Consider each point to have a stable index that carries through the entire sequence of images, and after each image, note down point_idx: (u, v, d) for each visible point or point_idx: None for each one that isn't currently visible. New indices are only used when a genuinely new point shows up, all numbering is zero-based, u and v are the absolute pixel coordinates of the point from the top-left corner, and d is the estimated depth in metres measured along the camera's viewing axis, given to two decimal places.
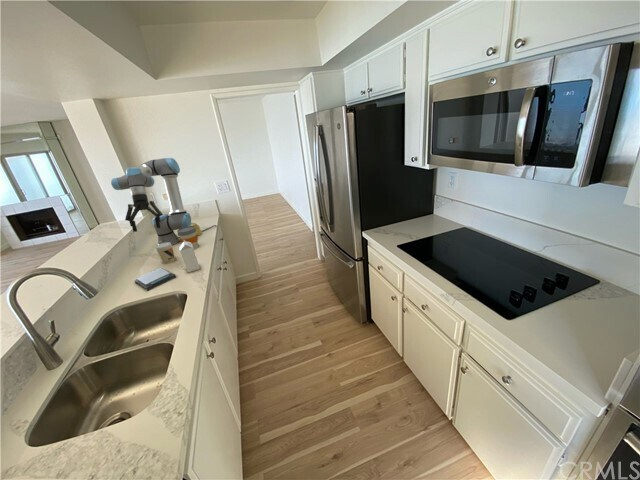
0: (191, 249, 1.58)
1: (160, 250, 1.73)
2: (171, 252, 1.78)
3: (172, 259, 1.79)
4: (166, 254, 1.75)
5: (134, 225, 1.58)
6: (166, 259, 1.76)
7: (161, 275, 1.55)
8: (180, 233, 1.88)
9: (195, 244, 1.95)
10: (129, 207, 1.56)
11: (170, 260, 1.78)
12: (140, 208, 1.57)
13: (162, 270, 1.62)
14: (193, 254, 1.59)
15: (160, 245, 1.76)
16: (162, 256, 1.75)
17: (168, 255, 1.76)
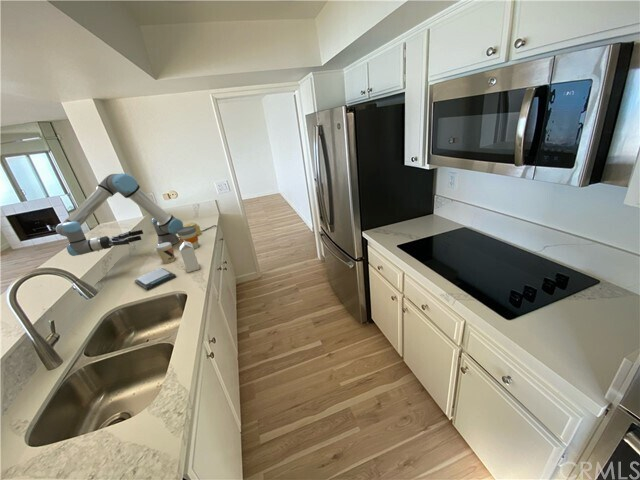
0: (191, 249, 1.58)
1: (160, 250, 1.73)
2: (171, 252, 1.78)
3: (172, 259, 1.79)
4: (166, 254, 1.75)
5: (136, 233, 1.72)
6: (166, 259, 1.76)
7: (161, 275, 1.55)
8: (180, 233, 1.88)
9: (195, 244, 1.95)
10: None
11: (170, 260, 1.78)
12: None
13: (162, 270, 1.62)
14: (193, 254, 1.59)
15: (160, 245, 1.76)
16: (162, 256, 1.75)
17: (168, 255, 1.76)
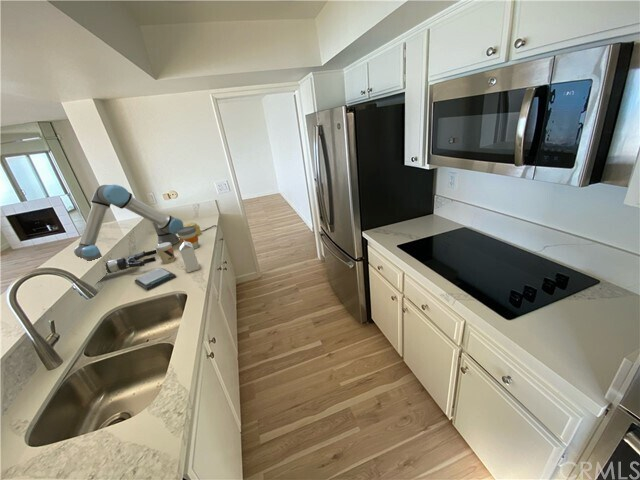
0: (191, 249, 1.58)
1: (160, 250, 1.73)
2: (171, 252, 1.78)
3: (172, 259, 1.79)
4: (166, 254, 1.75)
5: (150, 253, 1.80)
6: (166, 259, 1.76)
7: (161, 275, 1.55)
8: (180, 233, 1.88)
9: (195, 244, 1.95)
10: None
11: (170, 260, 1.78)
12: None
13: (162, 270, 1.62)
14: (193, 254, 1.59)
15: (160, 245, 1.76)
16: (162, 256, 1.75)
17: (168, 255, 1.76)
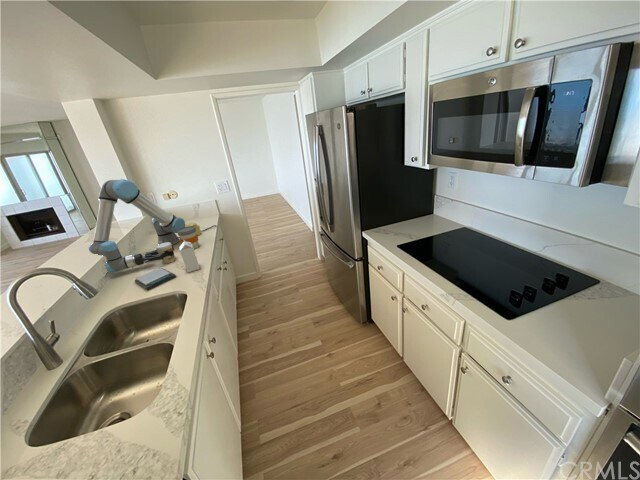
0: (191, 249, 1.58)
1: (160, 250, 1.73)
2: None
3: (172, 259, 1.79)
4: None
5: None
6: (166, 259, 1.76)
7: (161, 275, 1.55)
8: (180, 233, 1.88)
9: (195, 244, 1.95)
10: None
11: (170, 260, 1.78)
12: None
13: (162, 270, 1.62)
14: (193, 254, 1.59)
15: (160, 245, 1.76)
16: None
17: None
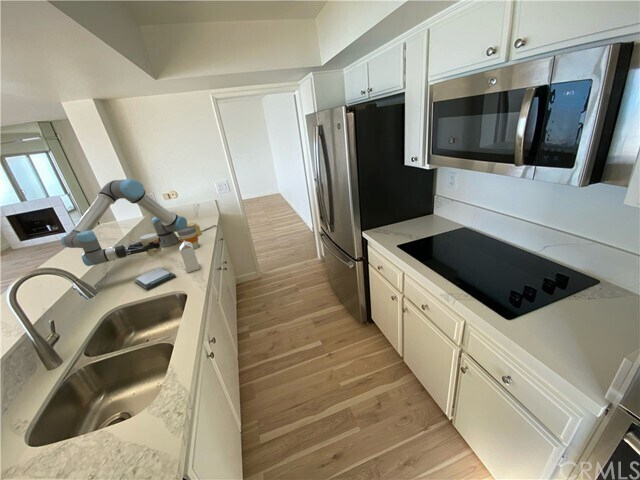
0: (191, 249, 1.58)
1: (144, 241, 1.56)
2: None
3: (158, 252, 1.62)
4: None
5: None
6: (151, 252, 1.59)
7: (161, 275, 1.55)
8: (180, 233, 1.88)
9: (195, 244, 1.95)
10: None
11: (156, 253, 1.61)
12: None
13: (162, 270, 1.62)
14: (193, 254, 1.59)
15: (145, 236, 1.59)
16: None
17: None
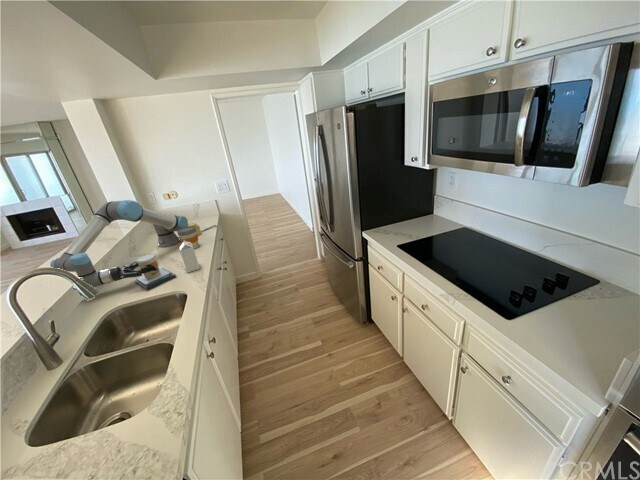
0: (191, 249, 1.58)
1: (142, 264, 1.49)
2: (155, 266, 1.53)
3: (156, 274, 1.55)
4: None
5: None
6: (149, 275, 1.52)
7: (161, 275, 1.55)
8: (180, 233, 1.88)
9: (195, 244, 1.95)
10: None
11: (154, 275, 1.54)
12: None
13: (162, 270, 1.62)
14: (193, 254, 1.59)
15: (142, 258, 1.52)
16: None
17: None
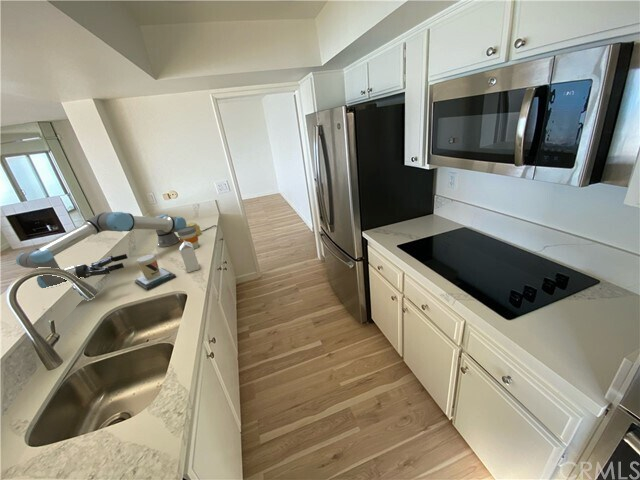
0: (191, 249, 1.58)
1: (142, 264, 1.49)
2: (155, 266, 1.53)
3: (156, 274, 1.55)
4: (149, 269, 1.51)
5: (119, 258, 1.52)
6: (149, 275, 1.52)
7: (161, 275, 1.55)
8: (180, 233, 1.88)
9: (195, 244, 1.95)
10: None
11: (154, 275, 1.54)
12: None
13: (162, 270, 1.62)
14: (193, 254, 1.59)
15: (142, 258, 1.52)
16: (144, 271, 1.51)
17: (151, 269, 1.52)
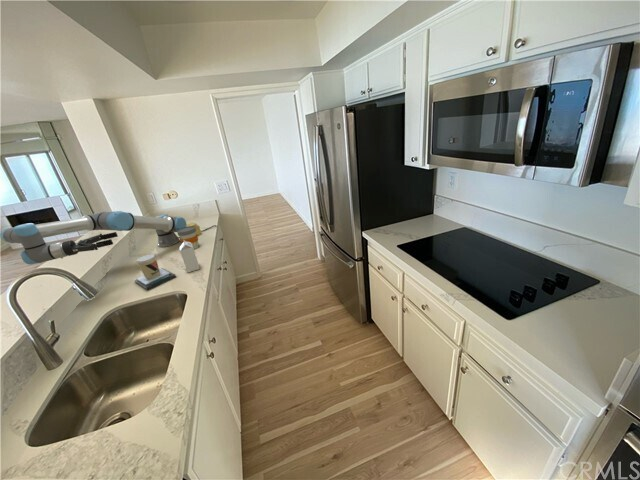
0: (191, 249, 1.58)
1: (142, 264, 1.49)
2: (155, 266, 1.53)
3: (156, 274, 1.55)
4: (149, 269, 1.51)
5: (109, 236, 1.46)
6: (149, 275, 1.52)
7: (161, 275, 1.55)
8: (180, 233, 1.88)
9: (195, 244, 1.95)
10: None
11: (154, 275, 1.54)
12: None
13: (162, 270, 1.62)
14: (193, 254, 1.59)
15: (142, 258, 1.52)
16: (144, 271, 1.51)
17: (151, 269, 1.52)
